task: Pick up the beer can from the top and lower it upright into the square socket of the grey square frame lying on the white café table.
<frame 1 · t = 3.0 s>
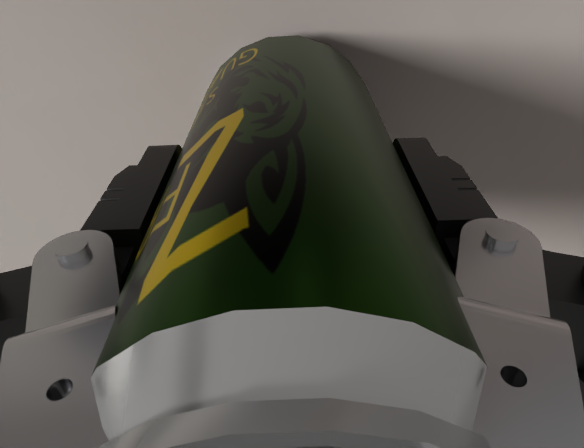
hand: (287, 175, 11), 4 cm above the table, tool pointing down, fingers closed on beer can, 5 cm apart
beer can: (287, 113, 14), on the table, touching gripper
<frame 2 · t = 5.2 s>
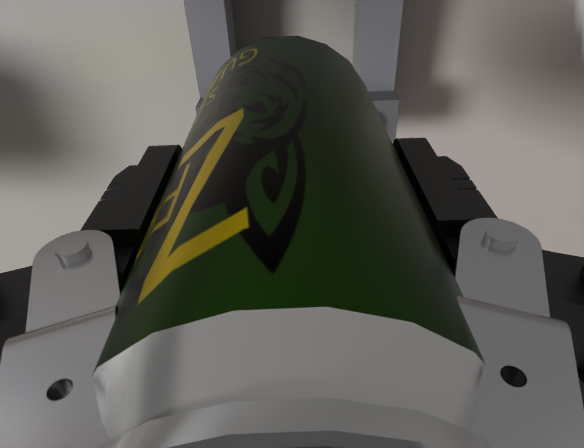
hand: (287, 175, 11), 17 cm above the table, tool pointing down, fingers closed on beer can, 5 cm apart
grey square frame: (294, 23, 25), on the table
beer can: (287, 113, 14), point 13 cm above the table, touching gripper
when the fingers open (5 cm above the table, at t = 7.6 s): beer can stays where it is, resting in grey square frame.
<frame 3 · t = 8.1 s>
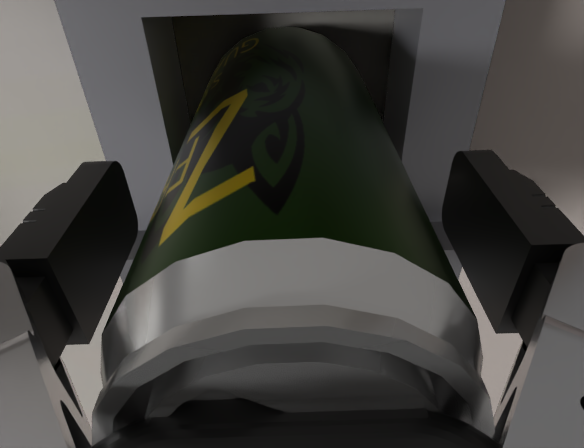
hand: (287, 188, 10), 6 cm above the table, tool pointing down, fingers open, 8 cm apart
grey square frame: (286, 105, 15), on the table
beer can: (285, 101, 15), resting in grey square frame
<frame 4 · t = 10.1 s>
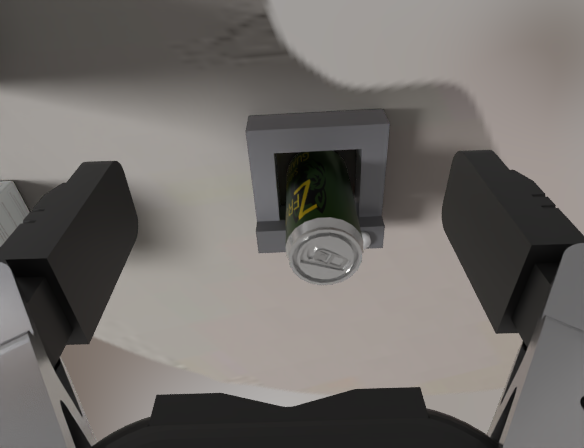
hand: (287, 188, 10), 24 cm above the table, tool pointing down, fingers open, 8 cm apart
grey square frame: (316, 171, 38), on the table
beer can: (316, 169, 38), resting in grey square frame
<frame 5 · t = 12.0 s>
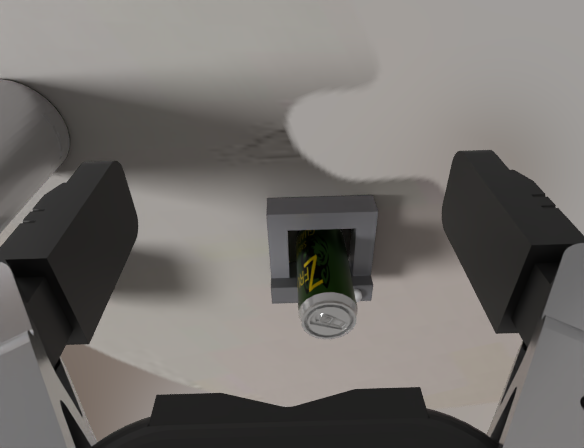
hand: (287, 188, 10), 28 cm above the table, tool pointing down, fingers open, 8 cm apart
grey square frame: (319, 238, 47), on the table
beer can: (319, 236, 47), resting in grey square frame
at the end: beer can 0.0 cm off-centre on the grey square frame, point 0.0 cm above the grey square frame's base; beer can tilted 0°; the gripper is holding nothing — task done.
